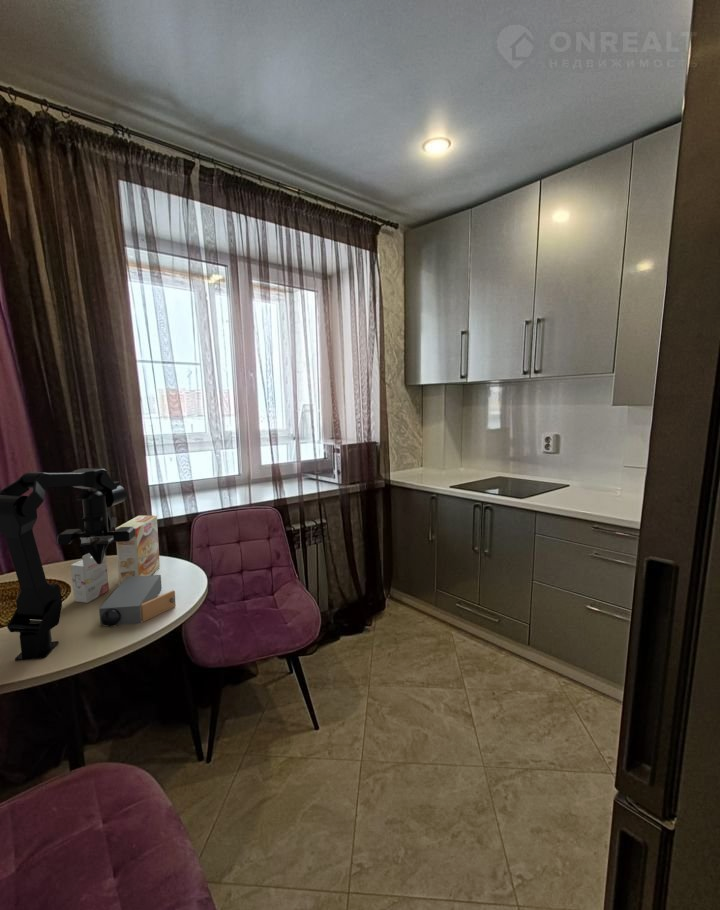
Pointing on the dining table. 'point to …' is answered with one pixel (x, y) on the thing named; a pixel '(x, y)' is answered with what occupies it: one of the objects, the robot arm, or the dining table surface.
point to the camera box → (129, 600)
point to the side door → (158, 605)
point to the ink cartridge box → (89, 578)
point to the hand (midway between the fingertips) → (99, 563)
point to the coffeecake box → (139, 549)
